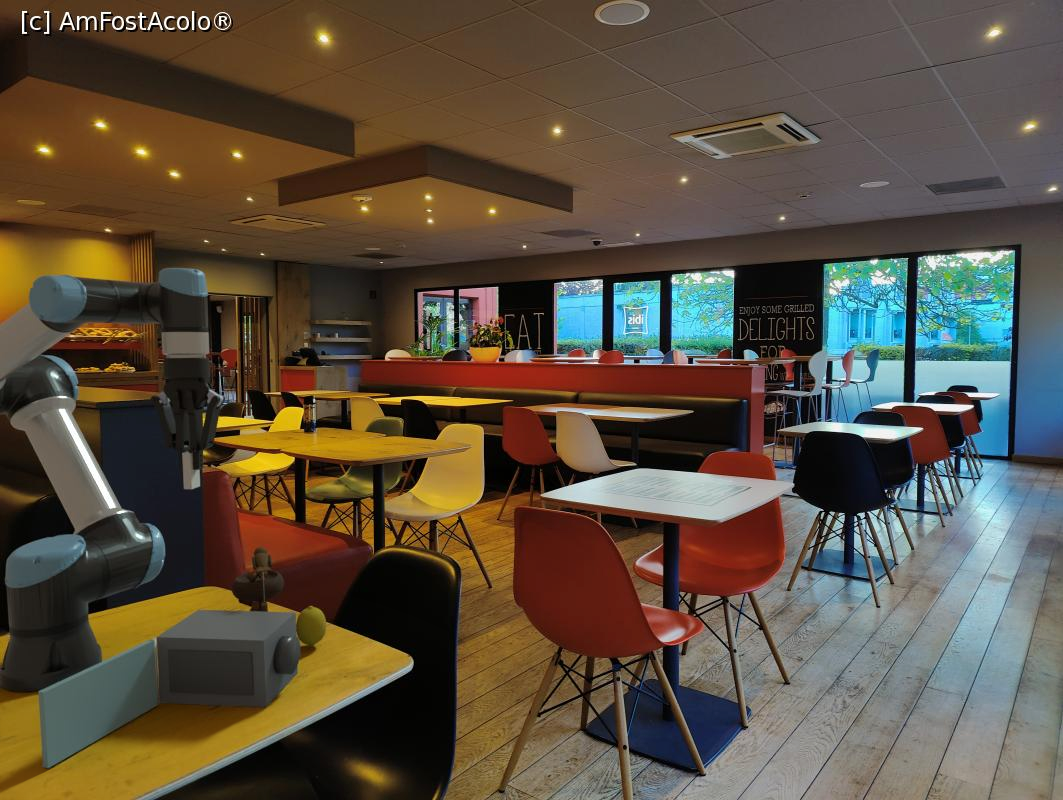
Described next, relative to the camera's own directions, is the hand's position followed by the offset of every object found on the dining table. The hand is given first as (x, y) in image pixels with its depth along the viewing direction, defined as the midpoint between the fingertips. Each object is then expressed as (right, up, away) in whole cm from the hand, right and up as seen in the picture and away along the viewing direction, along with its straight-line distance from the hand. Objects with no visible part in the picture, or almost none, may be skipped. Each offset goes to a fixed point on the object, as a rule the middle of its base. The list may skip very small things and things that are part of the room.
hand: (192, 487), depth 128 cm
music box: (+9, -32, +9) cm, 34 cm away
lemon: (+19, -32, +9) cm, 38 cm away
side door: (-3, -34, -22) cm, 40 cm away
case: (+11, -33, -8) cm, 36 cm away
